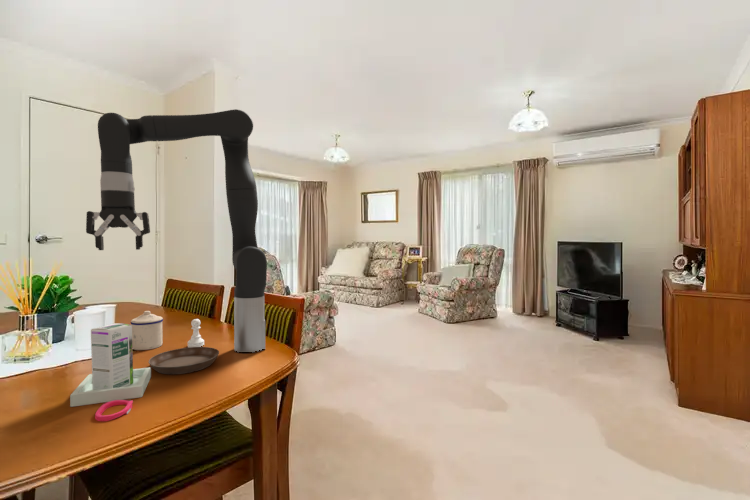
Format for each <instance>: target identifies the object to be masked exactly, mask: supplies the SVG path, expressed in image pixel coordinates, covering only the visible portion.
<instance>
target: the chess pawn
mask: <svg viewBox="0 0 750 500" xmlns="http://www.w3.org/2000/svg"><path fill="white" fill-rule="evenodd" d="M190 323H191V326H192V327H191V328H190V329H191V330H193V332H192V335H191V336H190V339H189V340H188V341H187V348H189V347H201V346H202V347H204V346H205V339H203V337H202V335H201V334H200V332H199V331H200V329H201V328H202V327H201V326H200V325H201V320H200V319H199V318H194V319H192V320H191V322H190ZM203 345H204V346H203Z"/></svg>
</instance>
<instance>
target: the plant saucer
mask: <svg viewBox="0 0 750 500" xmlns="http://www.w3.org/2000/svg"><path fill="white" fill-rule="evenodd" d="M219 354H220V351H219V350H218V349H217V348H214V347H211V346H210V347H209V346H202V347H182V348H176V349H171V350H166V351H164V352H160V353H157V354H155V355H154V356H152V357H150V358H149V360H148V364H149V366H150V367H151V369H153V370H154V371H156V372H157V373H159V374H162V375H163V374H165V375H183V374H189V373H195V372H198V371H201V370H204V369H206V368H208V367H209V366H211V365H212V364H213V363H214V362H215V361H216V360H217V358H218V357H219ZM194 371H195V372H194Z"/></svg>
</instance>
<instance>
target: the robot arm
mask: <svg viewBox="0 0 750 500" xmlns="http://www.w3.org/2000/svg"><path fill="white" fill-rule="evenodd" d="M251 117H252V116H250V115H249V114H248V113H247V112H245V111H244V110H242V109H229V110H222V111H217V112H211V113H202V114H199V113H198V114H180V115H179V114H177V115H176V114H175V115H173V114H172V115H169V114H168V115H166V114H163V115H161V114H160V115H159V114H157V115H151V114H150V115H143V116H142V115H141V117H140V118H133V119H132V118H129V119H126V118H125V117H124V116H122V115H121V114H119V113H115V112H106V113H104V114H103V115H101V116H100V117H99V118H98V121H97V133H98V141H99V147H100V180H99V181H100V185H99V186H100V200H101V201H100V205H101V206H100V211H98V212H97V211H91V210H89V211H87V212H86V219H85V221H86V222H85V223H86V225H85V232H86V234H88V235H92V236H94V241H95V242H94V243H95V247H96V249H97V250H98V251H104V248H105V246H104V236H103V234H104V233H105V232H106V231H107V230H109V228H113V229H114V228H122V229H123V228H125V229H126V228H129V229H130V230H132V231H133V233H134V234H135V250H136V251H138V250H141V248H143V246H144V245H143V243H144V241H143V239H144V238H143V236H145V235H147V234H150V233H151V225H150V218H149V217H150V216H149V213H148V212H146V211H143V212H136V206H135V205H136V204H135V202H136V201H135V182H134V178H133V163H132V162H133V160H132V156H131V152H130V151H131V146H130V145H134V144H141V143H146V142H171V141H174V142H175V141H182V140H188V139H193V138H198V137H199V138H200V137H212V136H213V137H220V141H221V145H222V150H223V155H224V170H225V171H224V173H225V176H224V177H225V192H226V193H225V194H226V200H227V201H226V203H227V209H228V210H227V211H228V215H229V221H230V222H229V223H230V225H231V226H230V227H231V232H232V233H231V235H232V236H231V237H232V256H231V257H232V258H231V261H232V265H233V267H234V268H235V271H236V276H235V277H236V280H235V281H236V282H235V287H234V290H233V293H234V297H233V302H234V303H233V304H234V305H233V308H234V309H233V310H234V311H233V314H234V320H233V321H234V322H233V323H234V325H233V326H234V328H233V330H234V331H233V335H234V336H233V338H234V339H233V340H234V343H233V346H234V347H233V348H234V349H233V350H234V352H236V351H237V352H236V353H239V352H252V353H256V352H255V351H257V352H260V351H263V350H262V349H265V350H266V319H265V291H266V287H267V272H268V271H267V269H268V268H267V267H268V266H267V265H268V263H267V257H266V254H265V252H264V251H263V250H262V249H261V248H258V243H257V242H258V241H257V237H256V234H257V233H256V223H257V217H258V211H259V209H258V208H259V201H258V189H257V183H256V179H255V175H254V172H253V169H252V167H251V163H250V159H249V137H250V136H251V134H252V133H253V130H254V122H253V119H252V118H251ZM98 218H100V219H102V221H103V222H102V223H101V225H99V227H98V228H97V230H95V223H96V222H95V221H96V220H98ZM137 218H138V219H139V220H141V221H142V226H143V230H141V229H140V228H139V227H138V225H137V224H135V222H134V221H135V220H136V219H137ZM259 350H260V351H259Z"/></svg>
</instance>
